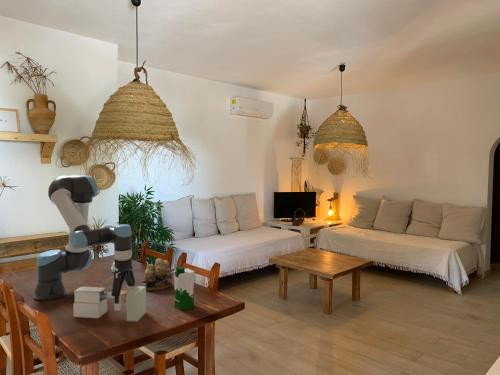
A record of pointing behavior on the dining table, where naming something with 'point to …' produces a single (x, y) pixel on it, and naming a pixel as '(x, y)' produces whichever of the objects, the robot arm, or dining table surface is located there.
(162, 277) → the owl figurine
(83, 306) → the sleeve
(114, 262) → the white knobbed cylinder
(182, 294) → the milk carton
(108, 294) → the tube
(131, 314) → the socket block
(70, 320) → the dining table surface
